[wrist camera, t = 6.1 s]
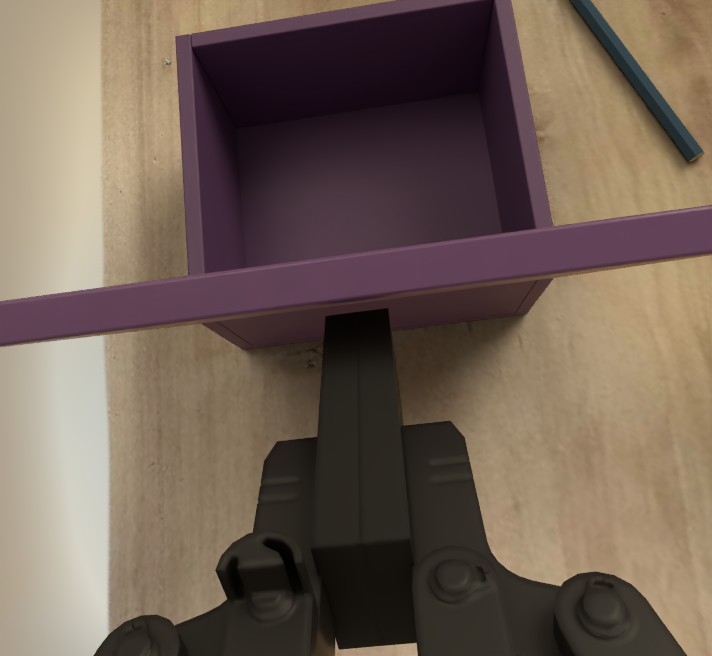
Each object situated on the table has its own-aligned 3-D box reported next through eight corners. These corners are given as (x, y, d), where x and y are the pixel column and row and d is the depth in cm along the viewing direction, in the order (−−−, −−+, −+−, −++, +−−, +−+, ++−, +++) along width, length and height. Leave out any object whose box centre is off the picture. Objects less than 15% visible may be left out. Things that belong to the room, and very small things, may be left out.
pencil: (686, 164, 37) (548, -23, 40) (700, 156, 37) (562, -30, 40) (692, 157, 36) (551, -33, 40) (707, 149, 36) (565, -41, 40)
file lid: (-72, 310, 13) (-65, 354, 13) (782, 195, 12) (787, 244, 12) (184, 305, 28) (187, 325, 28) (562, 255, 27) (565, 276, 27)
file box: (226, 125, 40) (174, 35, 32) (488, 85, 39) (508, -19, 30) (242, 350, 37) (190, 317, 29) (527, 314, 36) (561, 269, 27)
